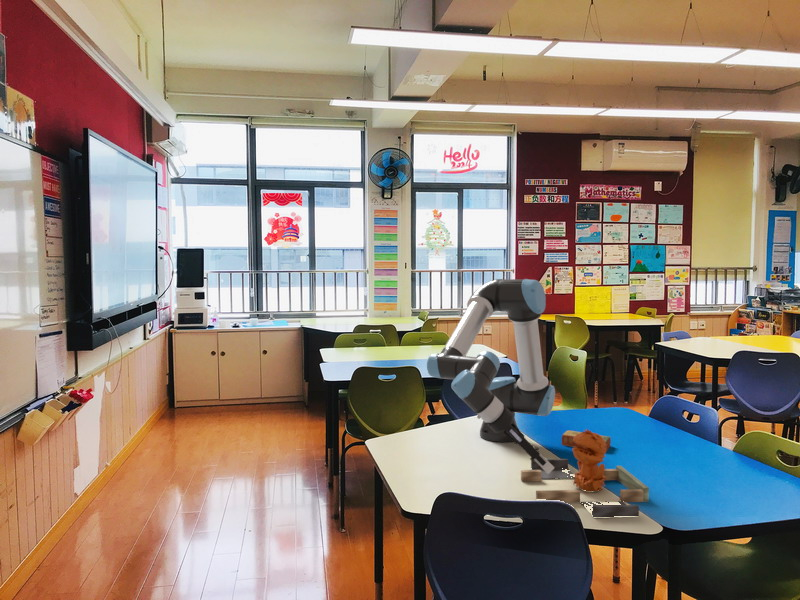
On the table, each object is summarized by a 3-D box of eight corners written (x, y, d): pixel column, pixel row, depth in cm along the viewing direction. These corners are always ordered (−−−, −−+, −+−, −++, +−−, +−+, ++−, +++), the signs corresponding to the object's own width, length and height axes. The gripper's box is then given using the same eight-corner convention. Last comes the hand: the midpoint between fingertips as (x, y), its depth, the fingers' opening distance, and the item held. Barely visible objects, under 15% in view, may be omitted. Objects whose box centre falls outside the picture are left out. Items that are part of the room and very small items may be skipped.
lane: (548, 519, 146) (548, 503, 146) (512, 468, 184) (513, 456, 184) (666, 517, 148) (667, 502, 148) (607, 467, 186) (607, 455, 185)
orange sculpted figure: (562, 483, 171) (563, 425, 170) (593, 480, 174) (595, 422, 173) (582, 497, 161) (583, 435, 160) (615, 494, 163) (617, 432, 162)
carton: (567, 440, 217) (567, 429, 217) (610, 447, 209) (611, 435, 209) (561, 445, 210) (561, 434, 210) (606, 453, 202) (606, 441, 201)
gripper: (481, 417, 170) (535, 471, 172) (490, 429, 157) (548, 487, 159) (499, 400, 170) (552, 454, 172) (509, 410, 157) (567, 468, 159)
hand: (550, 470), depth 165 cm, fingers closed
